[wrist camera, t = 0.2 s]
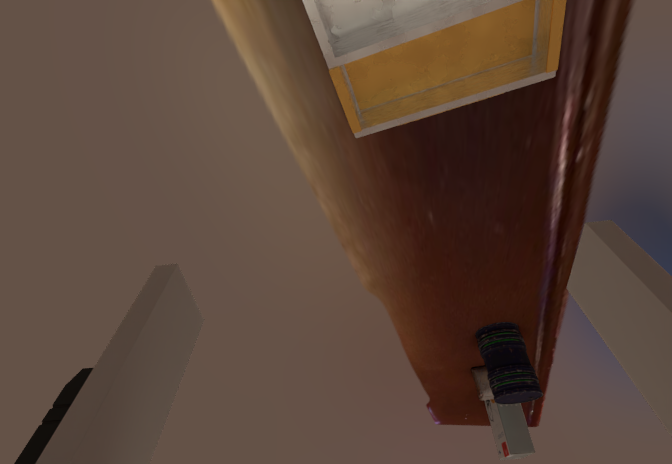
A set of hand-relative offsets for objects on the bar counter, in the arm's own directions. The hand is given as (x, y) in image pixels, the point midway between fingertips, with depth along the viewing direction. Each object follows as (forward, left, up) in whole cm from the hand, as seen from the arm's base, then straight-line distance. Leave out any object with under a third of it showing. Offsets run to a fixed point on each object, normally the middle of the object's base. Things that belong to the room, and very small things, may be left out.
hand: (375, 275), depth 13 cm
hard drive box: (+71, +121, -28) cm, 143 cm away
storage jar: (+38, +74, -28) cm, 88 cm away
